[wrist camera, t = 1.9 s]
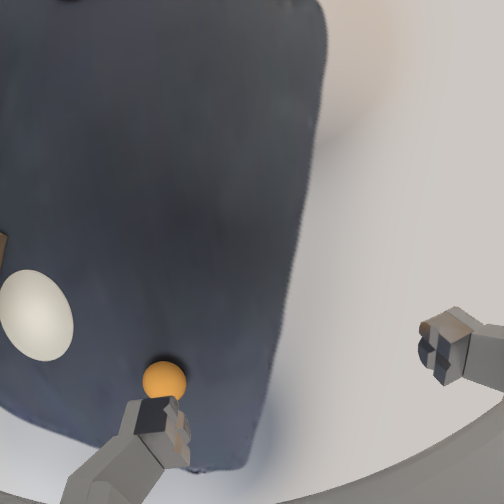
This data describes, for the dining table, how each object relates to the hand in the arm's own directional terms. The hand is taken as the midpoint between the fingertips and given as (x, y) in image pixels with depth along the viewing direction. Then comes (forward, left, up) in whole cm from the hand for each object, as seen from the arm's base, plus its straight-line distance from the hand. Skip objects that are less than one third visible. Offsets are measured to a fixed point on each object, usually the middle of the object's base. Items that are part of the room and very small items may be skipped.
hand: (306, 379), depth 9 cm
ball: (-13, -11, -26) cm, 31 cm away
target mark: (-27, +3, -29) cm, 40 cm away
